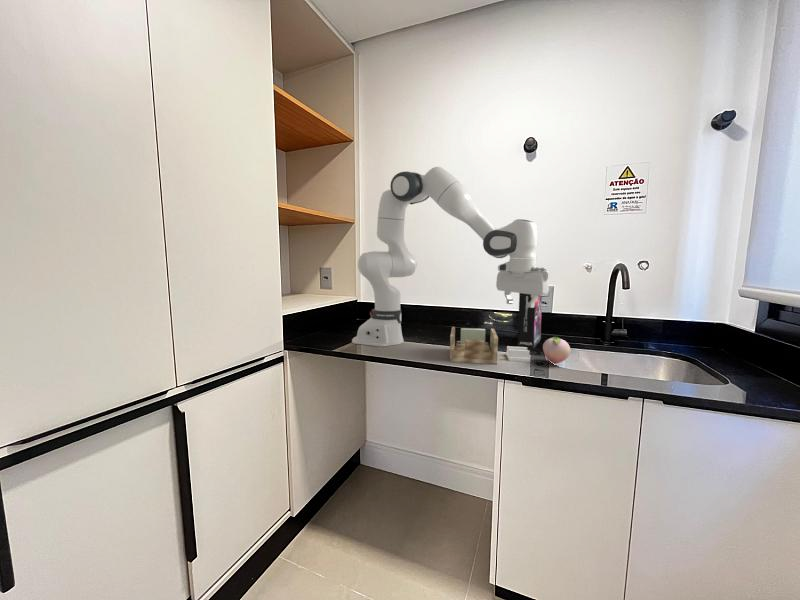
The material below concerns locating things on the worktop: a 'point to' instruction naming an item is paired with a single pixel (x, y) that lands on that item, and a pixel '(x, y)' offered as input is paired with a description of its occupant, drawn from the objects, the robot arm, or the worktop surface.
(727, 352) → the worktop surface
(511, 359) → the holder
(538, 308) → the graphics card box
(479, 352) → the offcut lower
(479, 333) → the sheet
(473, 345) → the offcut upper
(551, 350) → the decorative fruit
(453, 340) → the rack
